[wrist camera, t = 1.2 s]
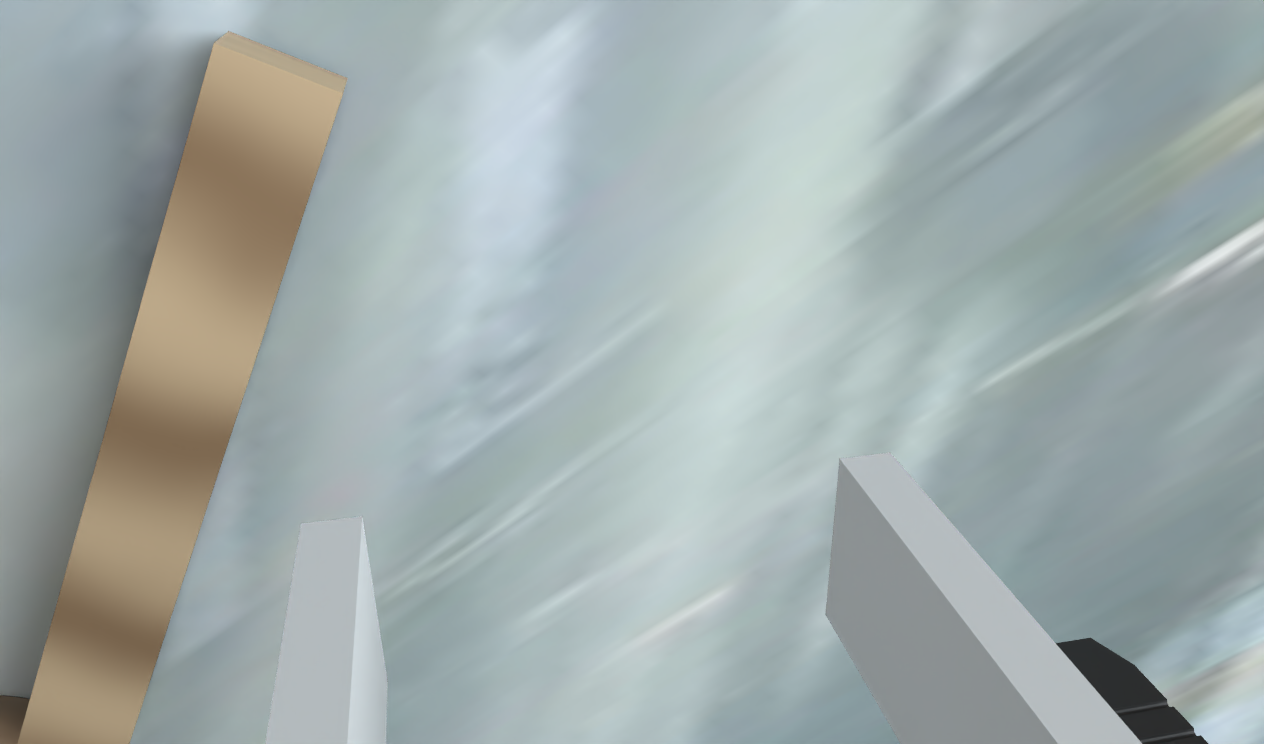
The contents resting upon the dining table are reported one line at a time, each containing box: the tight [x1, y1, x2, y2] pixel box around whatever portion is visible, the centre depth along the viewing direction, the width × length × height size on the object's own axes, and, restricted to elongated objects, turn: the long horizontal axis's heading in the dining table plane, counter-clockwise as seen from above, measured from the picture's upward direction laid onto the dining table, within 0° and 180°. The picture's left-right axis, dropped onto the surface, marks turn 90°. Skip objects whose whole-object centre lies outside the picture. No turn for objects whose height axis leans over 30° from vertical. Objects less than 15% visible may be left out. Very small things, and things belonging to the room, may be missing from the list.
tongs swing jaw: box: [18, 31, 347, 744], centre depth 28 cm, size 22×3×2 cm, turn 156°
